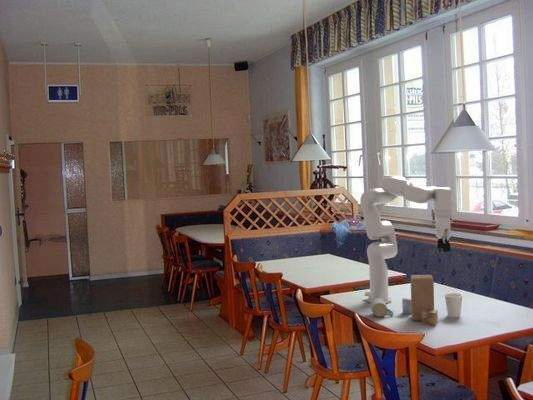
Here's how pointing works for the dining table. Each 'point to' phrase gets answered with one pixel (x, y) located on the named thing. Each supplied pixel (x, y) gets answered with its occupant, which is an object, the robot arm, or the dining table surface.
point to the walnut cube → (429, 317)
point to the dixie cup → (453, 304)
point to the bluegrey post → (406, 305)
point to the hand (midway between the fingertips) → (443, 250)
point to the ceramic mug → (380, 308)
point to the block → (421, 295)
